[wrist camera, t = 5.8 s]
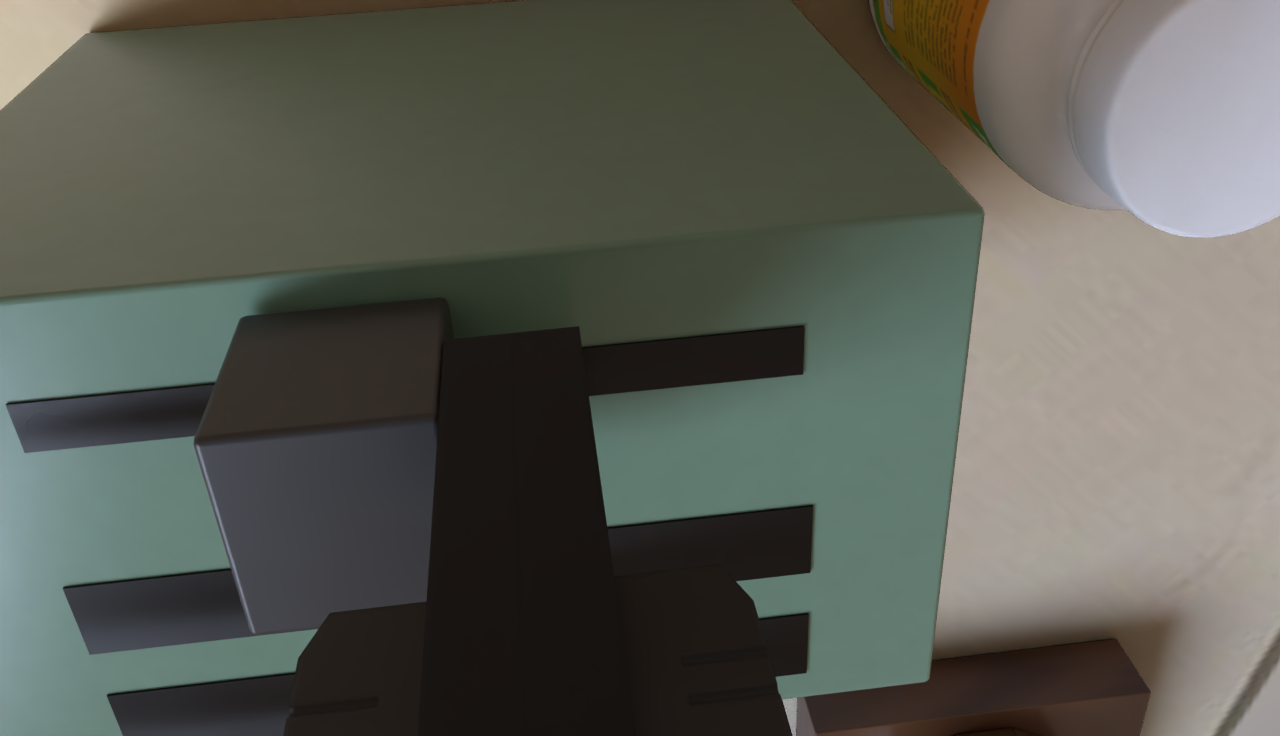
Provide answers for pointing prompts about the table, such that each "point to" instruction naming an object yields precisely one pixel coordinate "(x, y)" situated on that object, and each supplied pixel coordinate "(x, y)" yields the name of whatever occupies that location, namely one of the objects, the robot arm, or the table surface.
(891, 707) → the button block
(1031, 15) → the supplement bottle
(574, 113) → the toaster
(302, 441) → the slider
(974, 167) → the table surface
